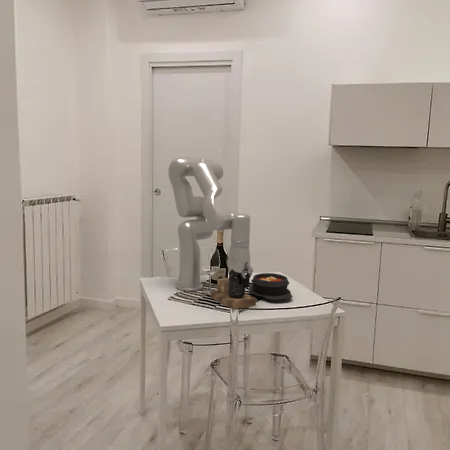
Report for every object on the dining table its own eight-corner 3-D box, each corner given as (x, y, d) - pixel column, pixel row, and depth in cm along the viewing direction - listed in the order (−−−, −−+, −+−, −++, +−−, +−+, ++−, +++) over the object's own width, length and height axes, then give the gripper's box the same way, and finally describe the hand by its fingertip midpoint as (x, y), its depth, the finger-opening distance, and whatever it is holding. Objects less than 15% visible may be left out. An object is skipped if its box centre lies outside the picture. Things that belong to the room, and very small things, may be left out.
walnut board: (210, 297, 203) (210, 290, 203) (231, 294, 209) (231, 287, 209) (234, 309, 188) (234, 302, 188) (255, 305, 194) (256, 298, 194)
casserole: (302, 301, 202) (303, 282, 200) (263, 305, 195) (264, 286, 193) (274, 286, 224) (275, 269, 223) (239, 289, 217) (239, 271, 216)
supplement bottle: (227, 294, 198) (228, 266, 197) (243, 294, 199) (244, 266, 197) (228, 299, 192) (229, 270, 190) (245, 299, 192) (246, 270, 190)
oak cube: (217, 290, 204) (217, 279, 203) (226, 288, 206) (227, 277, 206) (223, 293, 200) (223, 282, 199) (233, 291, 202) (233, 280, 202)
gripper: (221, 241, 197) (219, 280, 199) (245, 248, 182) (243, 291, 185) (235, 239, 201) (234, 278, 203) (260, 247, 186) (258, 288, 189)
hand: (238, 284), depth 194 cm, fingers open, 9 cm apart
